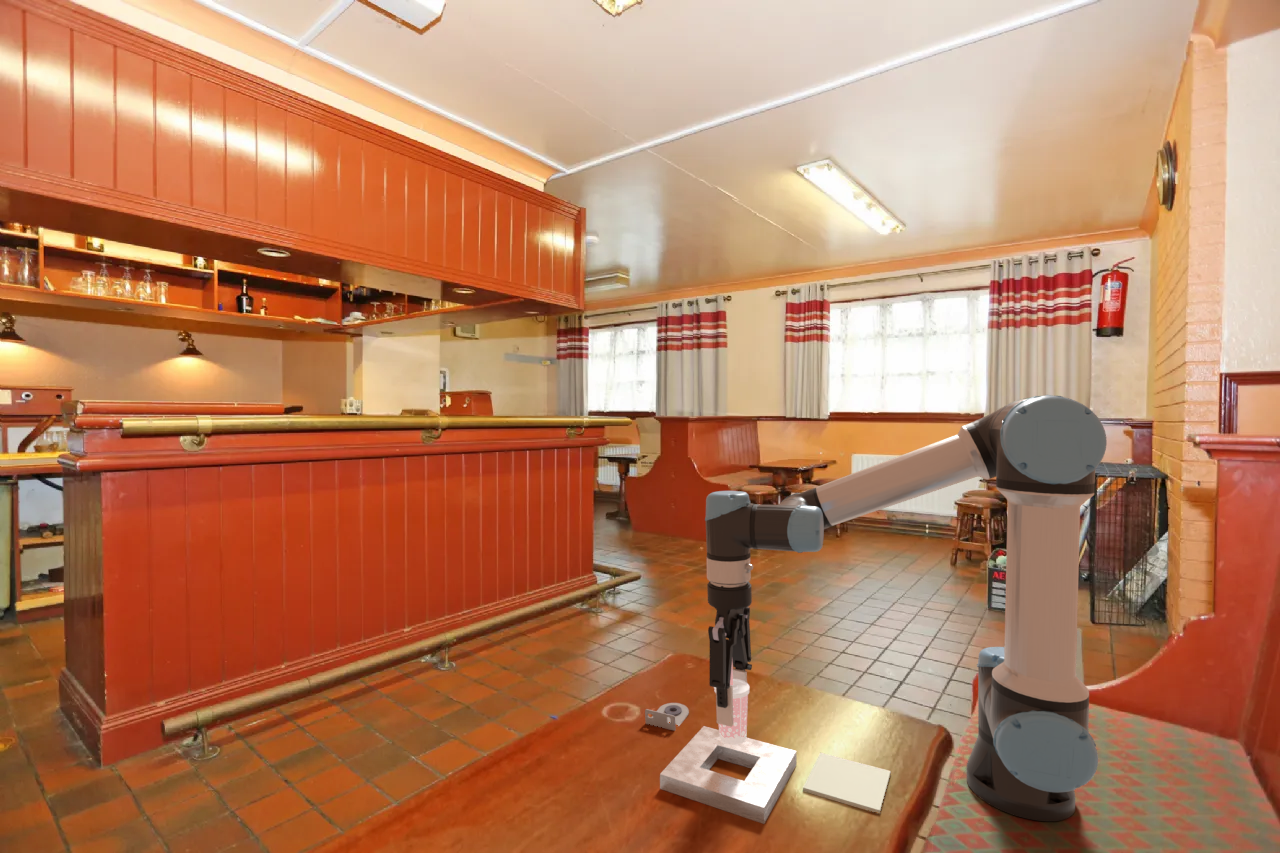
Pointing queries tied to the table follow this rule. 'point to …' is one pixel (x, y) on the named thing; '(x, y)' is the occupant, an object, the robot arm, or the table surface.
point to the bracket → (667, 716)
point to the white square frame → (726, 792)
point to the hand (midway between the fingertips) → (732, 715)
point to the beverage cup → (736, 713)
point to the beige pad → (848, 782)
